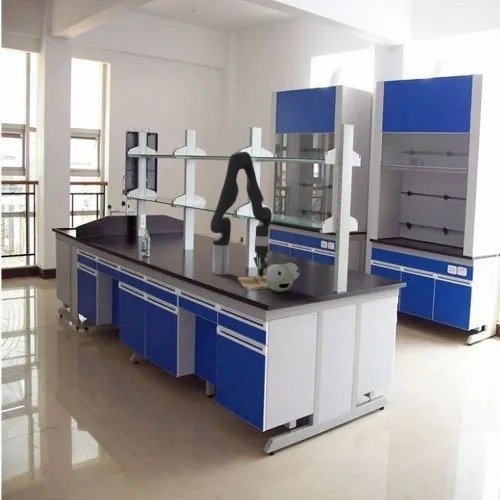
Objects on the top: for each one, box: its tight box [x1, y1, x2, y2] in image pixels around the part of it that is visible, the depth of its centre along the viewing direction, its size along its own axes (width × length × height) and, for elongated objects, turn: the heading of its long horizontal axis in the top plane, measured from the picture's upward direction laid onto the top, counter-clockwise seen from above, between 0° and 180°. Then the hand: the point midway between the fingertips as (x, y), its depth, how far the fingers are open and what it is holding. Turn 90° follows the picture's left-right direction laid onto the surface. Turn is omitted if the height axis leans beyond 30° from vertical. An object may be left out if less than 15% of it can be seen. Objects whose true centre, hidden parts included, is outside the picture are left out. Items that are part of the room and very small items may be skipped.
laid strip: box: [244, 284, 271, 291], centre depth 314 cm, size 5×18×1 cm, turn 121°
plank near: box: [237, 275, 259, 289], centre depth 317 cm, size 8×8×1 cm
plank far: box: [252, 274, 267, 285], centre depth 322 cm, size 8×8×1 cm
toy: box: [265, 262, 300, 293], centre depth 305 cm, size 18×15×15 cm
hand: (260, 275), depth 324 cm, fingers closed
